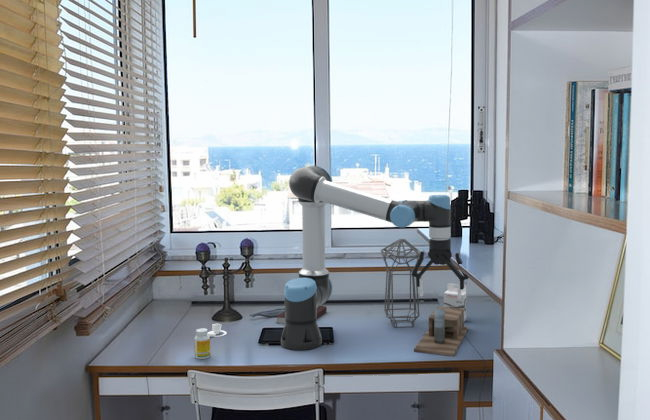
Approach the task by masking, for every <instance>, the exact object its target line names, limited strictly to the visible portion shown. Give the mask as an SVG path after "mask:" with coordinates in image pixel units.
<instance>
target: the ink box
mask: <svg viewBox="0 0 650 420" xmlns="http://www.w3.org/2000/svg"><path fill="white" fill-rule="evenodd" d="M467 295H468V294H467V285H466V284H464V289H463V290H462V289H461V298H460V299H458V283H451V282H450V283H449V282H448V283H447V290H446V291H444V293H443V307H447V308H459V309H464V322H465V321H467V307H468V306H467V305H468V304H467V300H468V299H467V298H468V296H467Z"/></svg>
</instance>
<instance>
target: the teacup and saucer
mask: <svg viewBox="0 0 650 420" xmlns="http://www.w3.org/2000/svg"><path fill="white" fill-rule="evenodd" d="M222 325H223V324H222V323H221V324H220V323H213V324H211V327H212V330H210V331H208V334H207V335H209V336H210V338H213V337H214V338H217V337H223V336H225V335H227V334H228V333H227V332H228V331H225V330H222ZM220 332H222V333H223V334H220ZM219 334H220V335H219Z"/></svg>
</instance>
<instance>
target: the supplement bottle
mask: <svg viewBox="0 0 650 420" xmlns="http://www.w3.org/2000/svg"><path fill="white" fill-rule="evenodd" d="M208 330H209V329H208V328H204V327H202V328H196V329H195V334H196V335H195V336H194V338H193V342H194V344H193V345H194V357H195V359H198V360H205V359H208V358H210V357H211V337H210V336H209V335H207V334H208V332H209V331H208Z"/></svg>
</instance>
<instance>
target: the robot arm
mask: <svg viewBox="0 0 650 420" xmlns="http://www.w3.org/2000/svg"><path fill="white" fill-rule="evenodd" d="M289 177H290V178H289V181H288V182H289V183H288V185H289V189H290V191H291V193H292V194H293V195H294V196H295V197H297V199H298V200H297V201H298V203H299V205H300V206H301V207H302V208H301V210H302V212H301V213H302V214H301V215H302V217H301V218H302V220H301V221H302V268H301V269H300V270H299V271H298V277H296V278H292V279H290V280H288V281H287V282H286V283H285V285H284V291H283V296H284V312H285V324H284V327H283V330H282V333H281V337H280V345H281V347H283V348H285V349H288V350H295V351H306V350H312V349H316V348H318V347H320V346H322V344H323V338H322V334H321V330H320V327H319V325H318V321H317V320H318V318H317V307H319V306H323V305H324V304H325V303H326V302H327V301H328V300H329V299H330V298H331V296H332V294H333V283H332V280H331V279H330V272H329V270H328V269H327V268H326V240H325V239H326V229H325V227H326V226H325V225H326V223H325V221H326V220H325V219H326V215H325V214H326V211H325V210H326V205H327V204H329V205H333V206H335V207H339V208H342V209H346V210H349V211H352V212H355V213H359V214H363V215H364V216H365V215H366V216H369V217H372V218H376V219H379V220H383V221H385V222H388V223H391V224H393V226H395V227H397V228H407V227H409V226H411V225H412V224H413V223H416V222H419V223H420V222H428V223H429V224H428V237H429V238H430V239H429V240H428V243H429V244H428V245H429V247H428V249H429V250H428V251H425V250H422V251H420V252H421V253H420V252H419V253H420V258H419V257H418V259H419V260H418V262H417V261H416V262H417V264H416V263H415V264H416V266H415V265H414V267H415V268H414V267H413V269H414V270H412V271H413V272H411V274H412V275H411V277H412V276H414V278H415V279H416V278H417V287H418V288H419V297H423V296H424V276H423V274H424V273H425V272H427V270H428V269H429V268H430V267H431V266H432V265H433V264H434V265H441V266H445V265H446V266H448V268H449V269H450V270H451V271H452V272H453V274H454V275H455V276H456V277H457V278H458V280H457V284H458V286H457V288H458V299H460V298H461V289H462V290H463V289H464V285H465V280H466V281H467V280H469V278H470V276H469V277H468V276H467V275H466V274H464V273H463V272H462V271H461V272H460V270H459V269H458V268H457V267H456V265H455V264H454V263H453V261H452V260H451V259H452V257H453V258H454V260H456V263H457V265H458V266H459V264H462V263H463V260H462V258H461V253H460V252H459V251H457V252H452V250H451V249H452V248H451V247H452V240H451V236H452V233H451V231H452V230H451V229H452V228H451V227H452V226H451V222H452V221H451V220H452V219H451V216H452V215H451V212H452V208H451V198H450V196H449V195H447V194H432V195H429V196H428V200H407V199H405V200H397V201H396V200H394V199H390V198H387V197H384V196H379V195H376V194H373V193H369V192H367V191H363V190H359V189H357V188H352V187H349V186H347V185H346V186H345V185H343V184H340V183H337V182H333V177H332V175H331V173H330V172H329V171H328V170H327V169H326V168H324V167H322V166H318V165H310V166H302V167H299V168H298V169H295V170H294V171H293V172H292V173H291V175H290V176H289ZM427 256H428V258H429V259H430V260H429V261H428V262H427V263H426V265H425V266H424V267H423V268H422V270H420V268H421V265H422V264H423V262H424V260H425V258H426V257H427ZM463 264H464V263H463ZM419 270H420V271H419ZM418 271H419V273H418Z"/></svg>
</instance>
